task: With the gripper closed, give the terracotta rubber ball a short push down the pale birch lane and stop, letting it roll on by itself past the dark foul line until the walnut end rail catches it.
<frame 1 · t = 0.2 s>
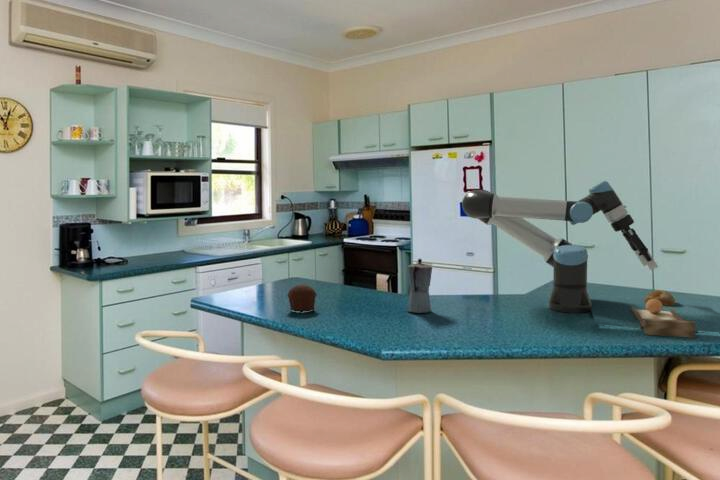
hand: (650, 266, 187), 15 cm above the counter, tool tilted 30°, fingers open, 13 cm apart
moka pot: (419, 312, 188), on the counter
ball: (653, 313, 173), point 1 cm above the counter, touching lane
lane: (660, 324, 163), on the counter
bread roll: (659, 307, 188), on the counter
muffin: (302, 311, 193), on the counter
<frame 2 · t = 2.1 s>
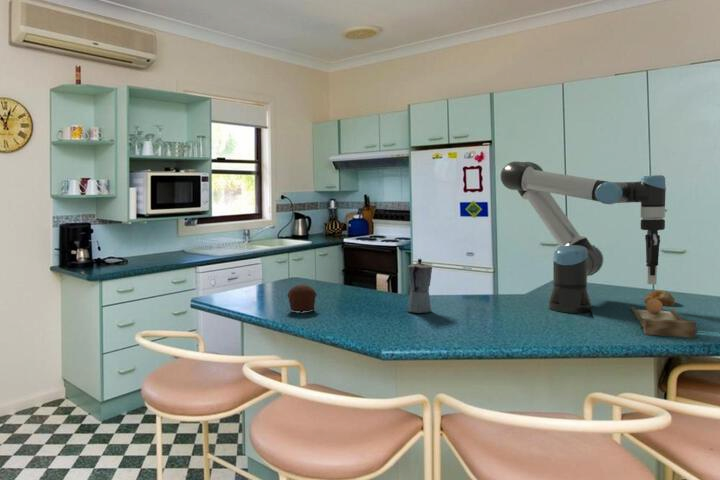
hand: (651, 283, 179), 10 cm above the counter, tool pointing down, fingers closed
nothing on the counter moved.
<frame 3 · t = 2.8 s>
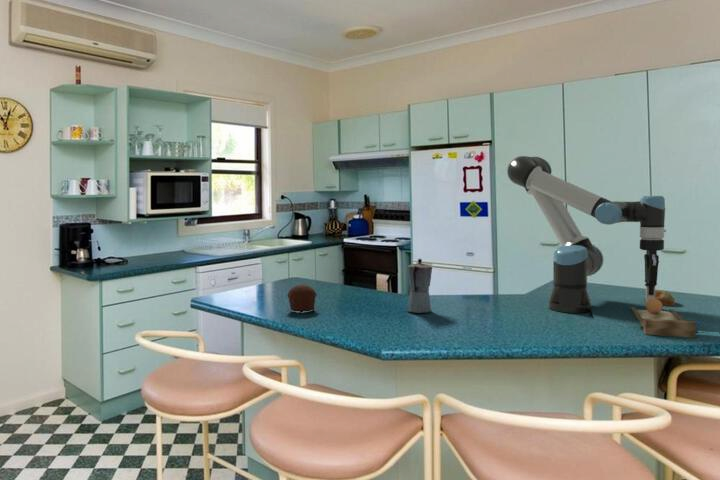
hand: (650, 303, 180), 3 cm above the counter, tool pointing down, fingers closed
nothing on the counter moved.
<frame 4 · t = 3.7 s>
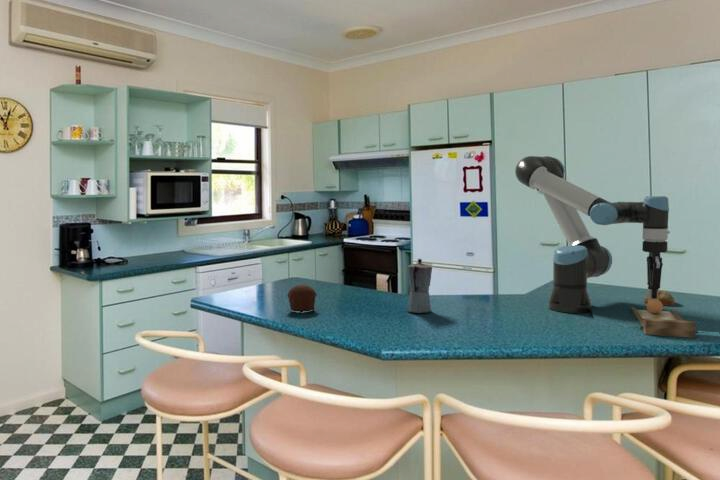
hand: (652, 306, 175), 3 cm above the counter, tool pointing down, fingers closed
ball: (654, 313, 173), point 1 cm above the counter, tilted 11°, touching gripper, lane
everything else where it was.
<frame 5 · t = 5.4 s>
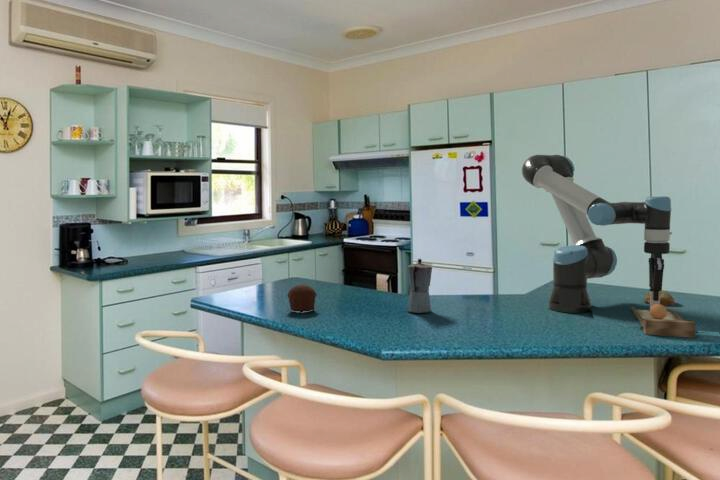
hand: (654, 309, 172), 3 cm above the counter, tool pointing down, fingers closed
ball: (657, 304, 164), point 6 cm above the counter, tilted 165°, touching lane
everything else where it was.
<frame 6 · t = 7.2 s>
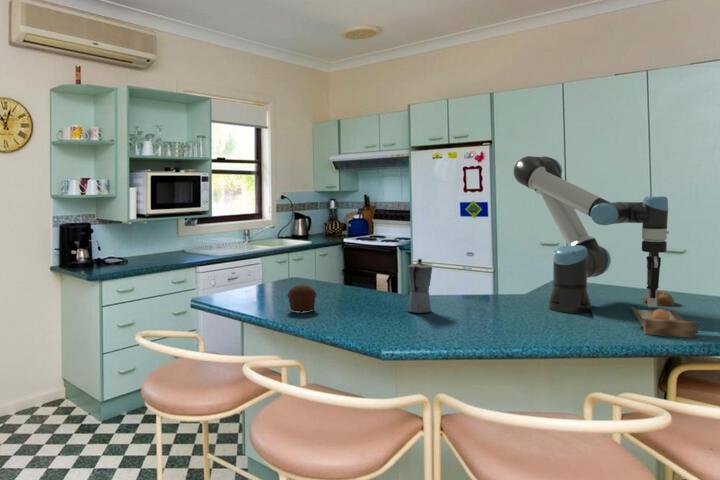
hand: (651, 306, 176), 3 cm above the counter, tool pointing down, fingers closed
ball: (659, 324, 158), point 1 cm above the counter, tilted 7°, touching lane
everything else where it was.
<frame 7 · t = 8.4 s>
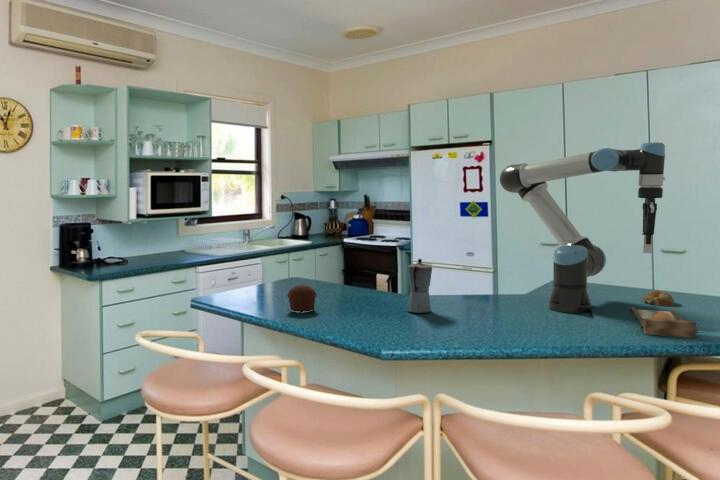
hand: (647, 252, 178), 21 cm above the counter, tool pointing down, fingers closed
ball: (660, 316, 156), point 4 cm above the counter, tilted 102°, touching lane
everything else where it was.
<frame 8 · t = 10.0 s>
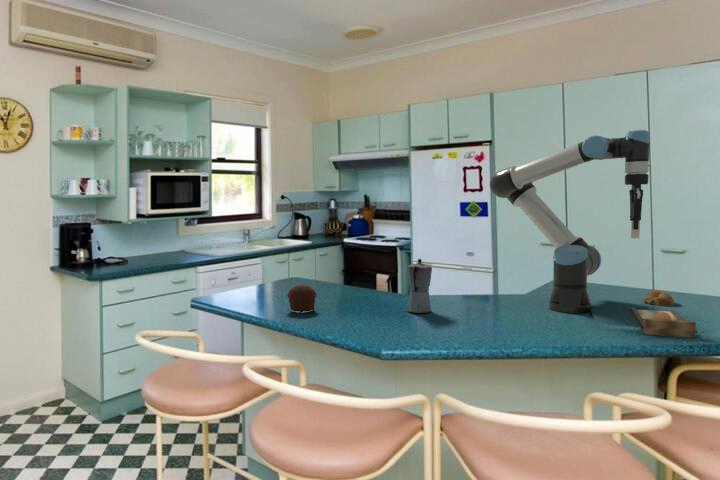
hand: (634, 238, 183), 26 cm above the counter, tool pointing down, fingers closed
ball: (660, 317, 157), point 4 cm above the counter, tilted 97°, touching lane
everything else where it was.
at the end: ball inside the target area (1.5 cm from its centre), point 4.0 cm above the counter; ball moved 18.0 cm from its start; the gripper is holding nothing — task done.
